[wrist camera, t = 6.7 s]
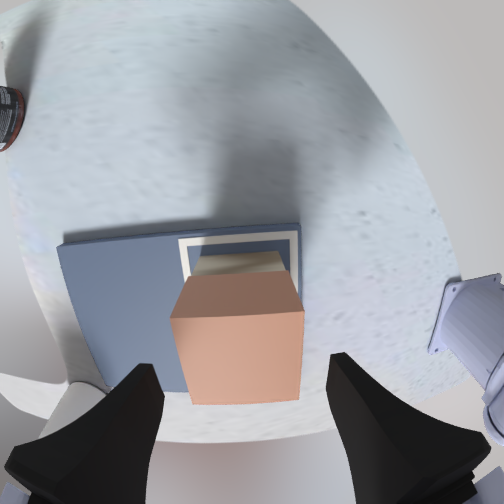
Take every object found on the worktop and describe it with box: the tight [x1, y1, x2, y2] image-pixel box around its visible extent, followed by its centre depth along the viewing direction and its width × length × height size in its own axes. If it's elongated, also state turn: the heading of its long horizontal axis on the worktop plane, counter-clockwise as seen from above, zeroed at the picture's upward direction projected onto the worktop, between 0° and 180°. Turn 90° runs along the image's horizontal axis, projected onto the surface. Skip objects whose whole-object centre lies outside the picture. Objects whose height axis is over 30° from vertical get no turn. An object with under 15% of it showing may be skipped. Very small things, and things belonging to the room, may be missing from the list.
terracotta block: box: [170, 270, 305, 405], centre depth 12 cm, size 5×5×4 cm
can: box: [39, 382, 107, 439], centre depth 18 cm, size 6×6×12 cm
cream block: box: [191, 251, 286, 276], centre depth 16 cm, size 5×5×4 cm
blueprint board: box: [56, 223, 301, 392], centre depth 20 cm, size 18×14×1 cm
